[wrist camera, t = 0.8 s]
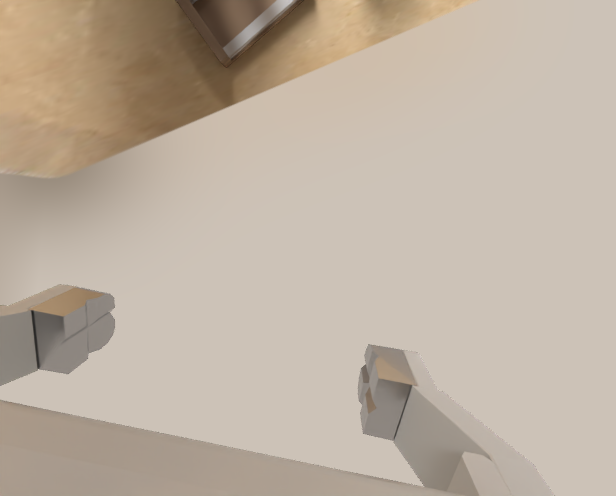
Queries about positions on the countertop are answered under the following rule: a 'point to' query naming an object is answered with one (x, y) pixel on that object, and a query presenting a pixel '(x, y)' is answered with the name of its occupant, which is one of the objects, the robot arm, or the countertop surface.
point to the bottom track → (234, 22)
